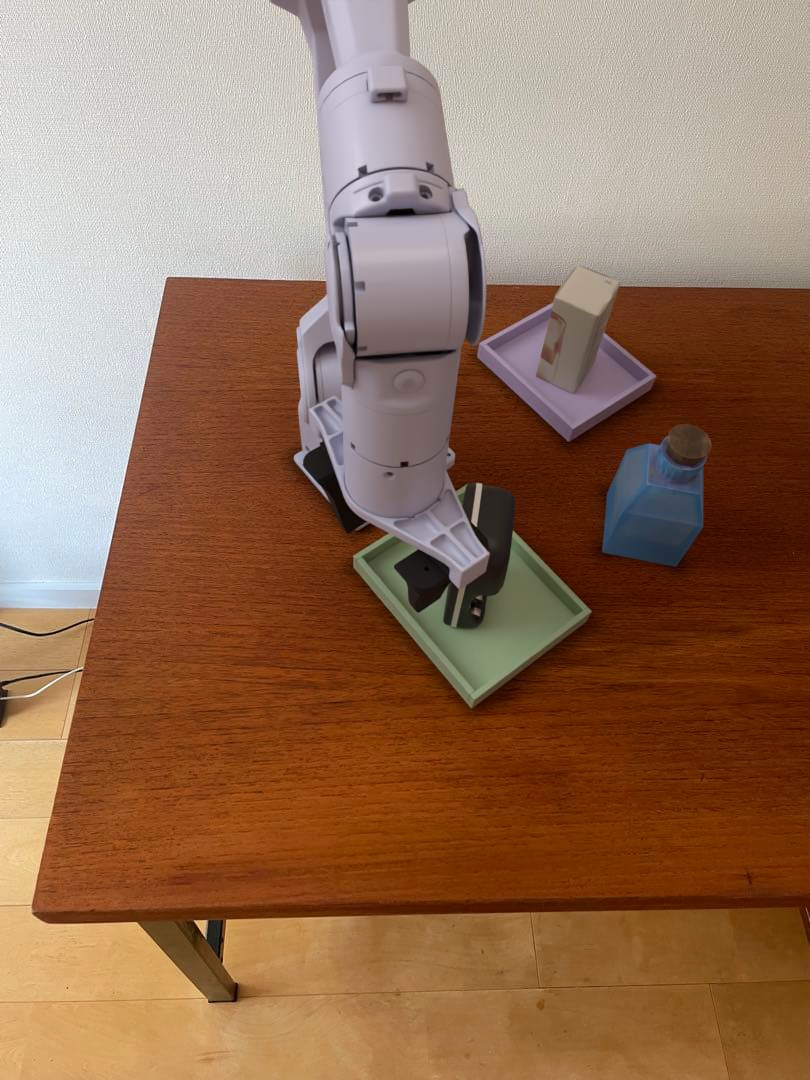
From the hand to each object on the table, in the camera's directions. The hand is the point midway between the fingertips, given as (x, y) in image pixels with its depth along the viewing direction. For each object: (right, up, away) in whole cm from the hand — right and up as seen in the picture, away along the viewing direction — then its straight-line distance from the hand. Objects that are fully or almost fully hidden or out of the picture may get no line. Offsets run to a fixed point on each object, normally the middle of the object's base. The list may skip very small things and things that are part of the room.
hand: (390, 561), depth 54 cm
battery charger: (+6, -3, +10) cm, 13 cm away
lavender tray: (+16, +18, +24) cm, 34 cm away
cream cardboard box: (+16, +18, +24) cm, 34 cm away
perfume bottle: (+21, +2, +15) cm, 26 cm away
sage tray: (+6, -3, +11) cm, 13 cm away
